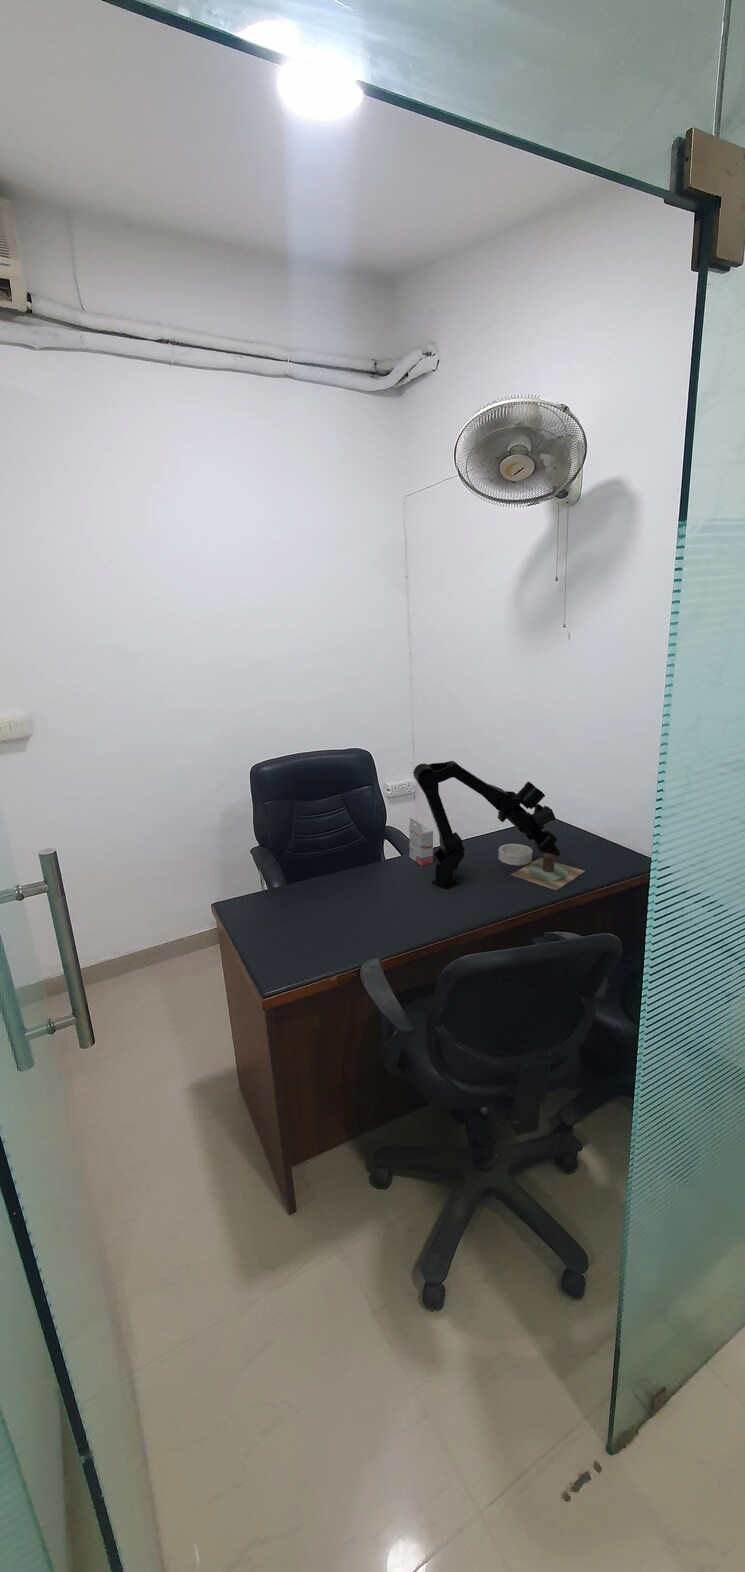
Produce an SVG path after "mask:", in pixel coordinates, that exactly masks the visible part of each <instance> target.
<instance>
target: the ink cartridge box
mask: <svg viewBox="0 0 745 1572" xmlns="http://www.w3.org/2000/svg"><path fill="white" fill-rule="evenodd" d="M408 827H409V828H408V830H409V834H408V835H409V839H408V840H409V858H410V859H411V860H412V861H414V862H416V864H418V865H419V866H421V867H422V866H426V865H427V866H428V865H431V863H432V864H434V830H432V829H431V828H429V827H428V826H426V825H424V824H423V823H419V822H418V821H417V820H415V819H414V818H412V817H410V818H409V825H408Z"/></svg>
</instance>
